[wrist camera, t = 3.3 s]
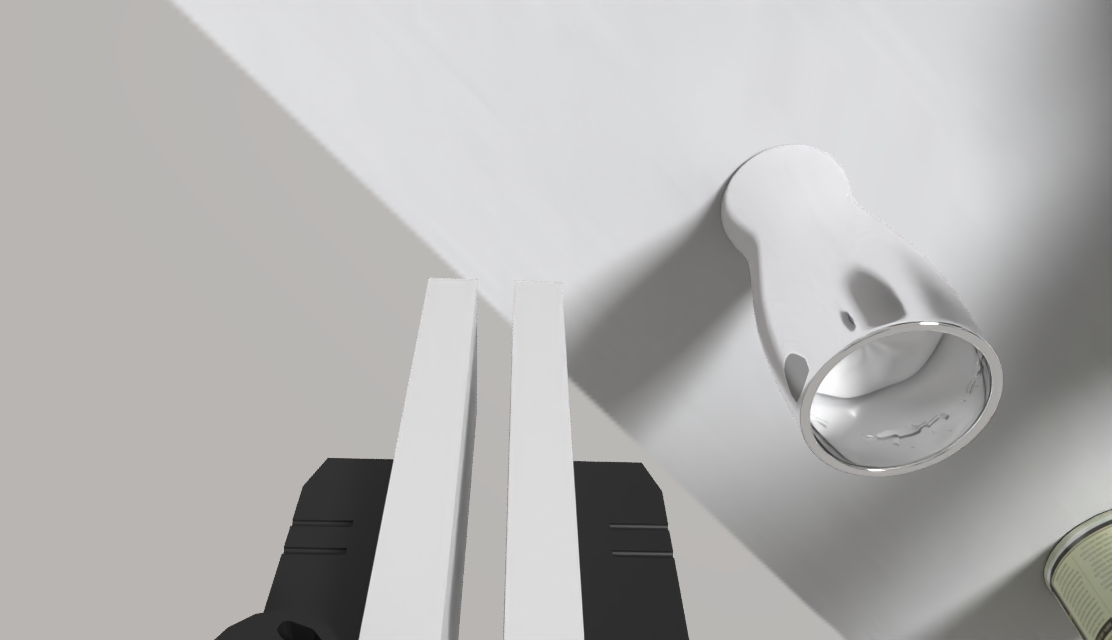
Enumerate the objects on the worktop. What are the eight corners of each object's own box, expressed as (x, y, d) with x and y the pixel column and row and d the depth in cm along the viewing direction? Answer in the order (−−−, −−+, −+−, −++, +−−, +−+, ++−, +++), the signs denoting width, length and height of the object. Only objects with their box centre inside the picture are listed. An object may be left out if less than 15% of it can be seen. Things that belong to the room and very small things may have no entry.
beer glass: (807, 283, 42) (924, 502, 30) (685, 239, 40) (755, 451, 28) (886, 164, 39) (1057, 355, 26) (756, 111, 37) (872, 288, 24)
